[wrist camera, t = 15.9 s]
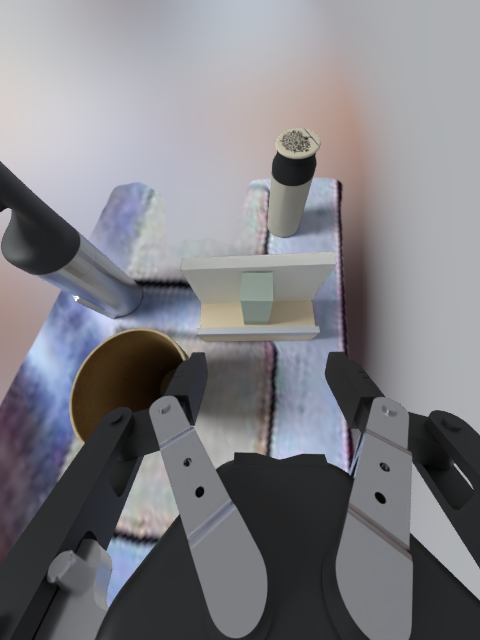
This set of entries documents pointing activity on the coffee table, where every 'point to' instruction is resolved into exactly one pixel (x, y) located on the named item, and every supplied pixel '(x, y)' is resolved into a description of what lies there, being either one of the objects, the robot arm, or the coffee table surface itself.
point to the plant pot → (122, 376)
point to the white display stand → (288, 294)
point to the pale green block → (256, 297)
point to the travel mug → (291, 179)
